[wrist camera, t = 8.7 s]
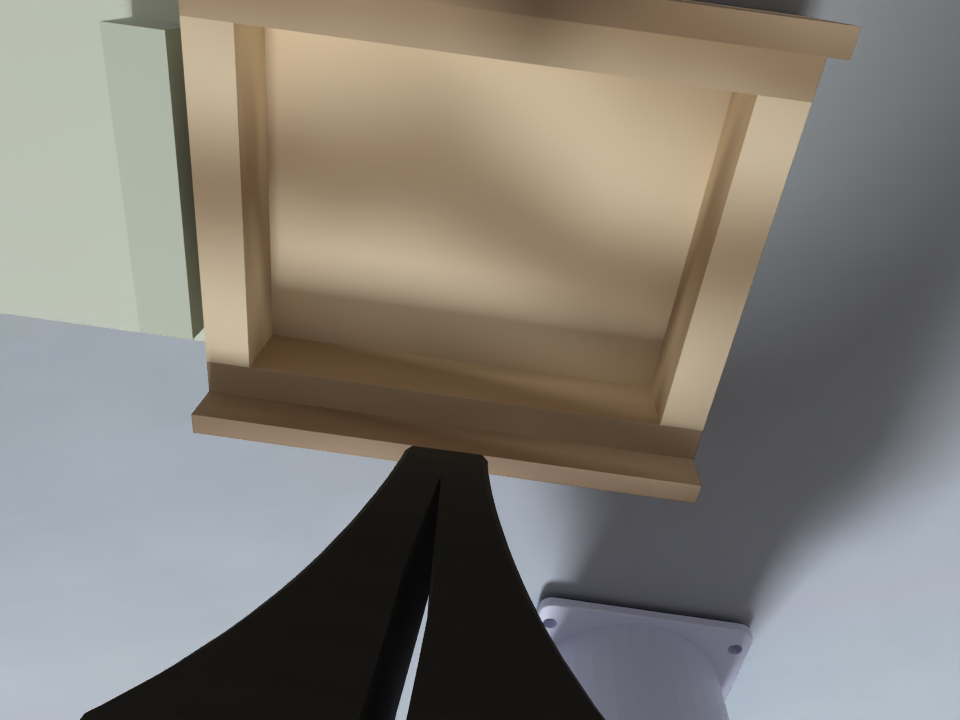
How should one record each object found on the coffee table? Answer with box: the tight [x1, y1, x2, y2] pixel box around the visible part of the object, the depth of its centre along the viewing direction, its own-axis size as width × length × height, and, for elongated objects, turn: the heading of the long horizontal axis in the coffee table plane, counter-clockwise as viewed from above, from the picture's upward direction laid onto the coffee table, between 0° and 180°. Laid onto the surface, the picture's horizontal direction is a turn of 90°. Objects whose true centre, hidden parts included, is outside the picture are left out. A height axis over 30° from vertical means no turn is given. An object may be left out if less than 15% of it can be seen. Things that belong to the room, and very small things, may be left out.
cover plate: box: [0, 0, 205, 341], centre depth 19 cm, size 10×11×3 cm
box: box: [178, 0, 861, 503], centre depth 18 cm, size 12×14×4 cm
